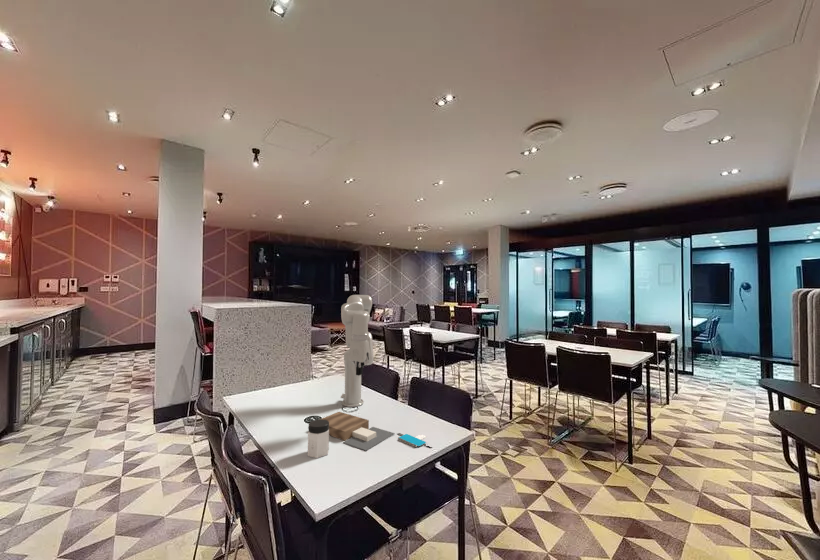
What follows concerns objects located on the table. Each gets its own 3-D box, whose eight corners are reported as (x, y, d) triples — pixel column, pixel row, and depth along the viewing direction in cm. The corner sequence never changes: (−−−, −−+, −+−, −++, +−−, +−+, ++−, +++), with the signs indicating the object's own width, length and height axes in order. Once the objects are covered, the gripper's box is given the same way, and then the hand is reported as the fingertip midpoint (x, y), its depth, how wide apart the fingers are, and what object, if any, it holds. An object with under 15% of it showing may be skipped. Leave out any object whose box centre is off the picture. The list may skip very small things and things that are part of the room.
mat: (343, 443, 144) (343, 442, 144) (372, 427, 161) (372, 426, 161) (366, 451, 137) (366, 450, 137) (394, 434, 153) (394, 433, 153)
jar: (302, 455, 133) (303, 425, 133) (315, 446, 140) (316, 417, 141) (321, 459, 130) (321, 428, 130) (333, 450, 137) (333, 421, 138)
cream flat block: (352, 436, 150) (352, 431, 150) (361, 431, 155) (361, 427, 155) (367, 441, 145) (367, 436, 145) (376, 436, 150) (376, 432, 150)
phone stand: (441, 444, 145) (441, 440, 145) (423, 453, 136) (423, 449, 136) (408, 430, 159) (408, 427, 159) (390, 438, 150) (390, 434, 150)
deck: (314, 430, 157) (314, 421, 157) (338, 419, 170) (338, 411, 171) (344, 440, 146) (344, 431, 146) (368, 428, 159) (368, 420, 160)
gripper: (343, 336, 165) (342, 373, 165) (366, 340, 157) (365, 379, 157) (354, 334, 171) (353, 370, 171) (376, 338, 163) (375, 375, 163)
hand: (359, 374), depth 164 cm, fingers closed
